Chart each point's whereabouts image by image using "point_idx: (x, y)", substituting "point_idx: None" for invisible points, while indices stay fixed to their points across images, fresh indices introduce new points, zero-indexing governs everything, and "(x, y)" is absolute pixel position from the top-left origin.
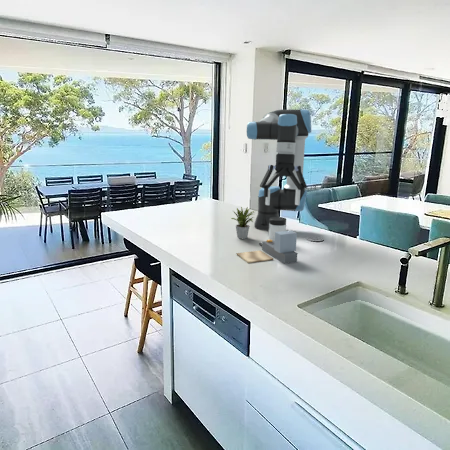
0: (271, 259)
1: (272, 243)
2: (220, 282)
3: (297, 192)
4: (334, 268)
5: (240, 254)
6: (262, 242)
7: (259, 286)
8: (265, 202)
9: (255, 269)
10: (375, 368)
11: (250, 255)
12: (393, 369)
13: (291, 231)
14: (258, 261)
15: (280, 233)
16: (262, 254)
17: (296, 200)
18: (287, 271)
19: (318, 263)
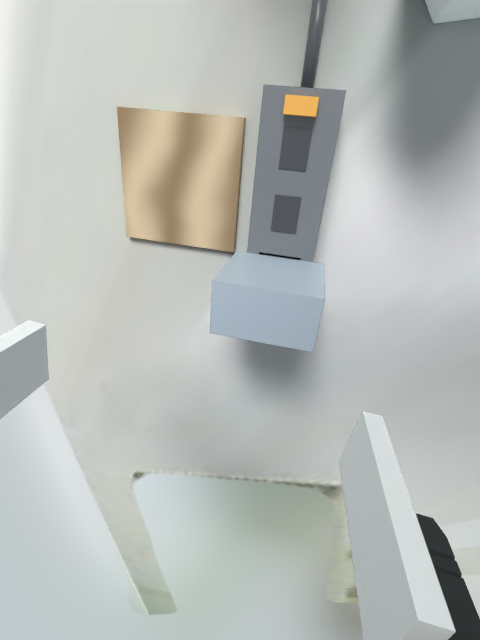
0: (226, 250)
1: (292, 154)
2: (16, 324)
3: (374, 596)
4: (370, 412)
5: (129, 135)
6: (264, 87)
7: (99, 387)
8: (11, 333)
9: (131, 297)
10: (140, 577)
11: (165, 170)
12: (156, 586)
13: (306, 316)
14: (170, 241)
15: (222, 317)
16: (220, 183)
17: (358, 474)
18: (215, 356)
19: (363, 359)
